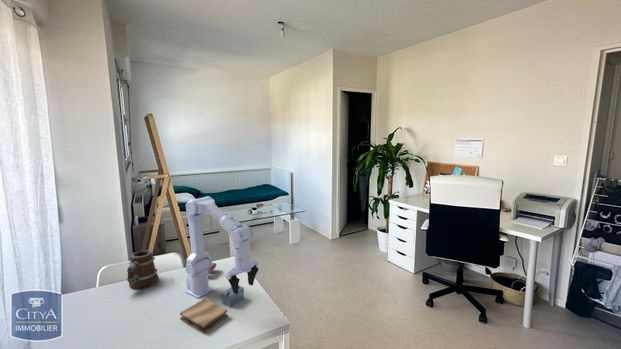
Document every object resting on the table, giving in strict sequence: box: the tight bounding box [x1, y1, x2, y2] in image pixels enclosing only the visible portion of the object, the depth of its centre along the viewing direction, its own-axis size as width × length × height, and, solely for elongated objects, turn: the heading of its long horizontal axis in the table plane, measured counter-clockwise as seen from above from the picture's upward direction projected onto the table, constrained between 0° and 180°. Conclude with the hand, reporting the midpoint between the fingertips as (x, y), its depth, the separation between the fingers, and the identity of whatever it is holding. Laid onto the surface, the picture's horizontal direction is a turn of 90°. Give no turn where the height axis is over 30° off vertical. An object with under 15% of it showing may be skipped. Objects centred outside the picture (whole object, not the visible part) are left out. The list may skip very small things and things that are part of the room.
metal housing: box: [221, 284, 245, 308], centre depth 119 cm, size 5×8×6 cm, turn 148°
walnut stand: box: [179, 298, 229, 334], centre depth 108 cm, size 14×11×3 cm
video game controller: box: [208, 261, 217, 276], centre depth 141 cm, size 10×5×7 cm, turn 168°
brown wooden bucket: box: [126, 249, 159, 290], centre depth 131 cm, size 16×12×15 cm
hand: (243, 288), depth 111 cm, fingers open, 7 cm apart
